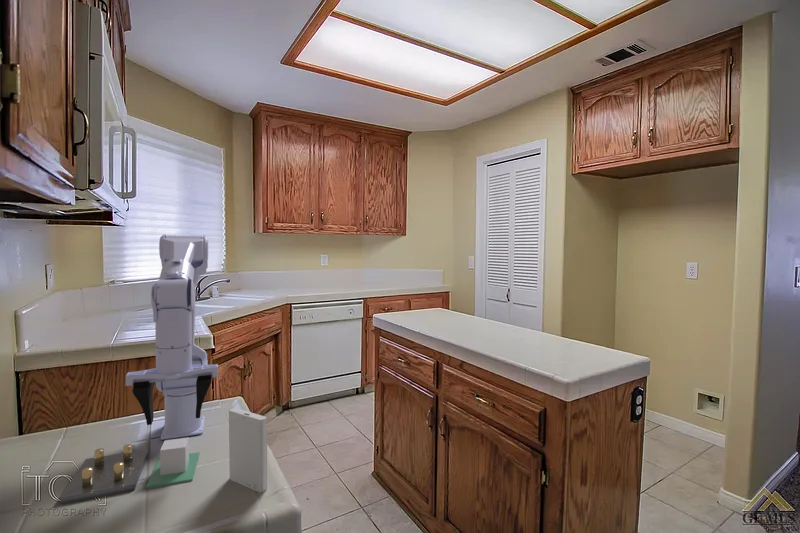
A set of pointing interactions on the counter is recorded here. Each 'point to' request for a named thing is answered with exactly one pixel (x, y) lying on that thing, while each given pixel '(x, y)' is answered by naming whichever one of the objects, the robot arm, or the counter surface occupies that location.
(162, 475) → the board
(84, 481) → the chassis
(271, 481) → the counter surface
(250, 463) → the external hard drive
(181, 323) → the robot arm
